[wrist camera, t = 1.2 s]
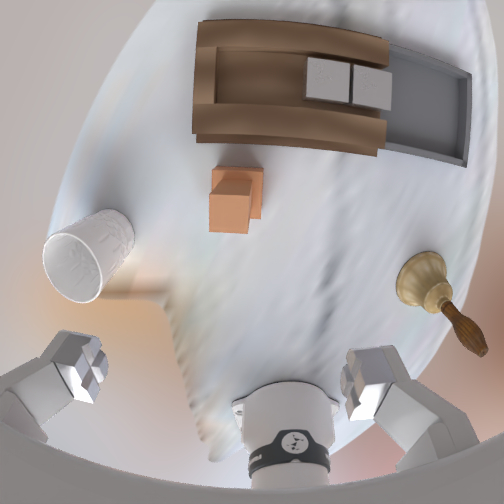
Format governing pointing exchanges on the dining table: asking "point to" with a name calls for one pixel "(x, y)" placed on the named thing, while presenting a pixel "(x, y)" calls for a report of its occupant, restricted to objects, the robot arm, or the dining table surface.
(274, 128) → the slot board
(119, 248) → the white cup
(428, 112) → the tray
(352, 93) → the grey square block
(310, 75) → the light grey block
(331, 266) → the dining table surface
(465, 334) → the hand bell
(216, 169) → the stepped wedge block
